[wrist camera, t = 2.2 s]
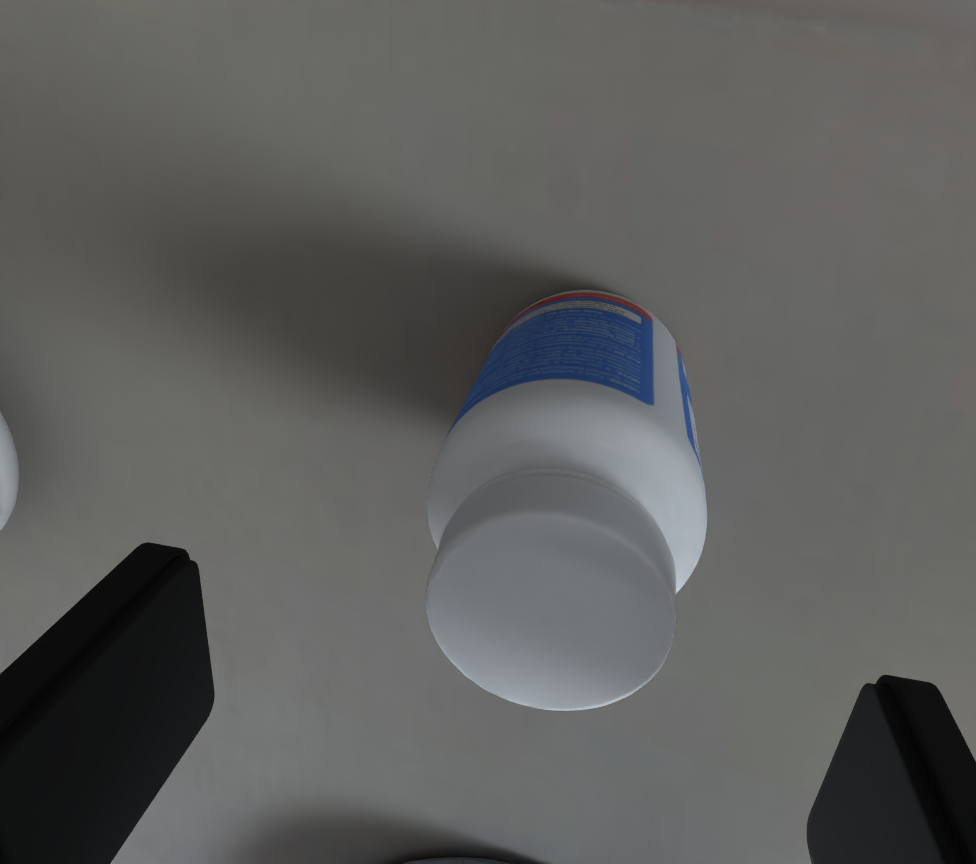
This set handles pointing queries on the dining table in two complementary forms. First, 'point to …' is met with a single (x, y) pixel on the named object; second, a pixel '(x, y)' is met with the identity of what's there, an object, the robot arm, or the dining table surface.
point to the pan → (456, 861)
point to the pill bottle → (567, 506)
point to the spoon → (7, 472)
